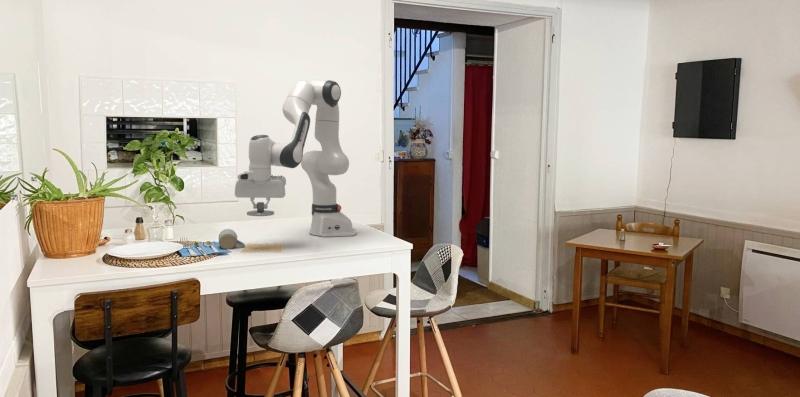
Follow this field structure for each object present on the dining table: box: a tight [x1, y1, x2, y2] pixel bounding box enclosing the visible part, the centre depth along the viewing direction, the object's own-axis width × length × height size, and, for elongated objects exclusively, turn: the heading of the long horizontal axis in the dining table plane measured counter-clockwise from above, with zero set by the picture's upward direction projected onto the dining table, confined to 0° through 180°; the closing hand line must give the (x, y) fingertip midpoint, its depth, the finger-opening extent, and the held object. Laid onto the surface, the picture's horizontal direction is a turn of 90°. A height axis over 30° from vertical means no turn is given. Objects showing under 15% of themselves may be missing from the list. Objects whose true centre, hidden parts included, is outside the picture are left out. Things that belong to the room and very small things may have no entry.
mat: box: [240, 243, 286, 253], centre depth 255 cm, size 16×16×1 cm
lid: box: [246, 201, 275, 217], centre depth 253 cm, size 11×11×5 cm
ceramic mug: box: [218, 228, 246, 250], centre depth 255 cm, size 11×8×8 cm
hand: (260, 208), depth 253 cm, fingers closed on lid, 3 cm apart
